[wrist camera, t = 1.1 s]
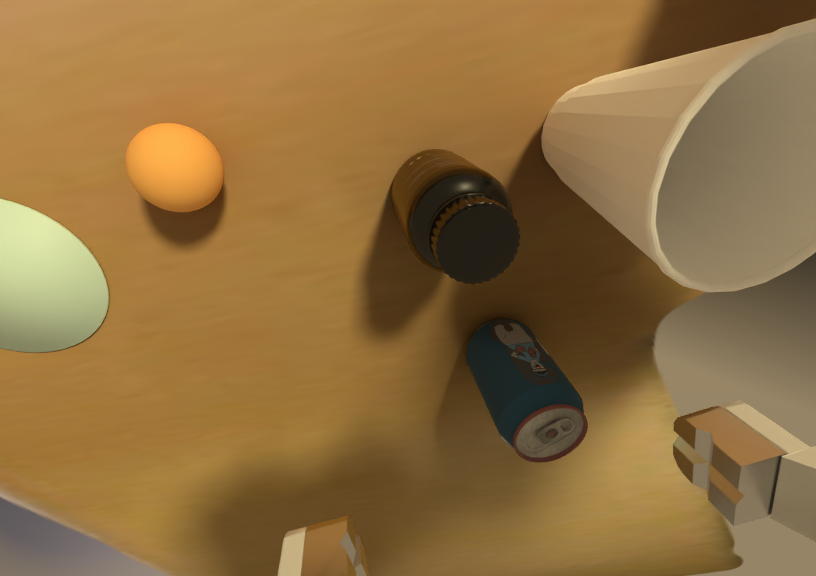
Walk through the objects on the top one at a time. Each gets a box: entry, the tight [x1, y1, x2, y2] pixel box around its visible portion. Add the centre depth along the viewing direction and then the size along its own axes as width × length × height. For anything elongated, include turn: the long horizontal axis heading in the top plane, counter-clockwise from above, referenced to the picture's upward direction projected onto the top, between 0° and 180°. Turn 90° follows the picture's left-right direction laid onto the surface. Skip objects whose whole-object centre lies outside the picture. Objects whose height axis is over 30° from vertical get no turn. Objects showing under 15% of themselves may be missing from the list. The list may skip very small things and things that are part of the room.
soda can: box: [466, 319, 588, 462], centre depth 35 cm, size 7×7×12 cm
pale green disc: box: [0, 198, 109, 352], centre depth 30 cm, size 13×13×1 cm
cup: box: [541, 18, 816, 292], centre depth 25 cm, size 12×12×16 cm
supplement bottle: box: [391, 149, 520, 284], centre depth 27 cm, size 7×7×12 cm
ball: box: [125, 123, 224, 212], centre depth 26 cm, size 6×6×6 cm
